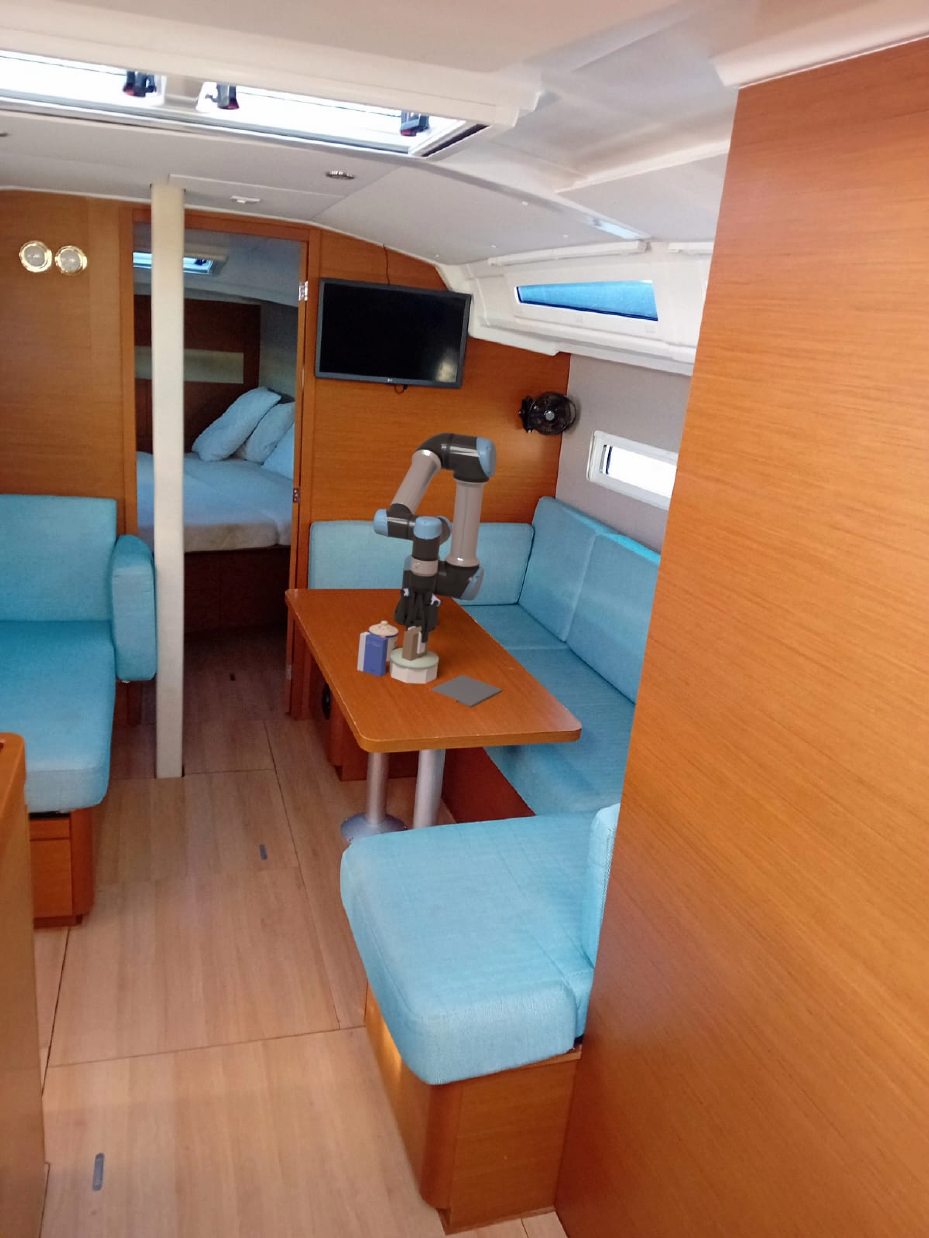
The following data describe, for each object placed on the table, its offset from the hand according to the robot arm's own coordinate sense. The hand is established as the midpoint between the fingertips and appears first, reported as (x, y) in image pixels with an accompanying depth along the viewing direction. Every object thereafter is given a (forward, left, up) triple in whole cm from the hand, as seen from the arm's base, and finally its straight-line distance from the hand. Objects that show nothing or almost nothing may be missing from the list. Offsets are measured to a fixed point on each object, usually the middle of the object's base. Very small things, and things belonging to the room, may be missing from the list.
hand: (415, 650), depth 268 cm
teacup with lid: (-5, -16, -8) cm, 19 cm away
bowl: (0, 0, -8) cm, 8 cm away
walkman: (+8, -9, -8) cm, 15 cm away
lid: (0, 0, -3) cm, 3 cm away
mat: (-3, +17, -8) cm, 19 cm away
